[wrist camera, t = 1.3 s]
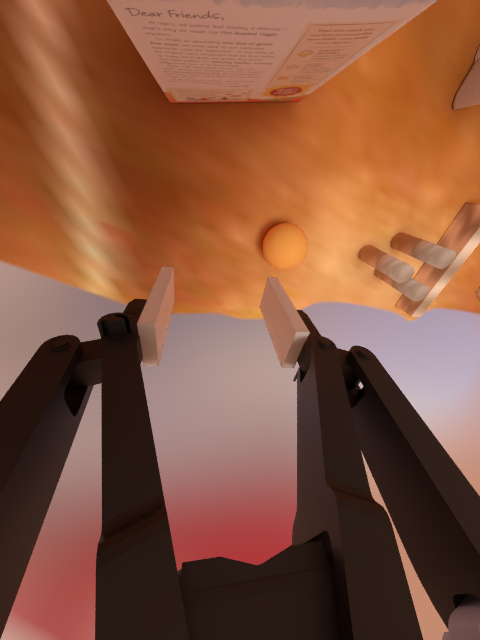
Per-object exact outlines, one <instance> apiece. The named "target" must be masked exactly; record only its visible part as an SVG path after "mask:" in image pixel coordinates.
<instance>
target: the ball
mask: <svg viewBox="0 0 480 640" xmlns="http://www.w3.org/2000/svg"><path fill="white" fill-rule="evenodd" d="M306 251H307V238H306V235H305V233H304V232H303V230H302V229H301V228H300V227H298V226H297V225H294V224H292V223H281V224H278V225H276V226H274V227H273V228H272V229H270V231H269V232H268V233H267V234H266V236H265V238H264V241H263V254H264V257H265V259H266V260H267V262H268V263H269V264H270V265H271V266H273V267H275V268H278V269H289V268H292V267H294V266H296V265H297V264H299V263H300V262H301V261H302V259H303V258H304V256H305V254H306Z"/></svg>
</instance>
